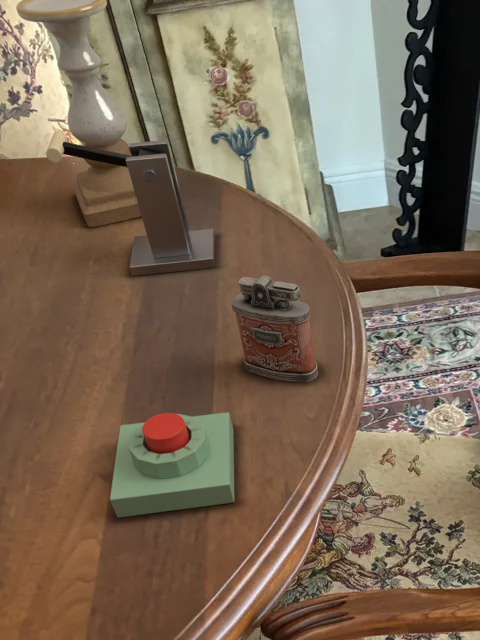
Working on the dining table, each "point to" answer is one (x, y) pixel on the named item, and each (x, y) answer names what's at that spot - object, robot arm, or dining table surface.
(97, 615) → the dining table surface
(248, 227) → the dining table surface
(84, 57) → the candle holder
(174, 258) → the bracket
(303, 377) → the lighter
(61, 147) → the lever
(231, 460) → the button box
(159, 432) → the button
